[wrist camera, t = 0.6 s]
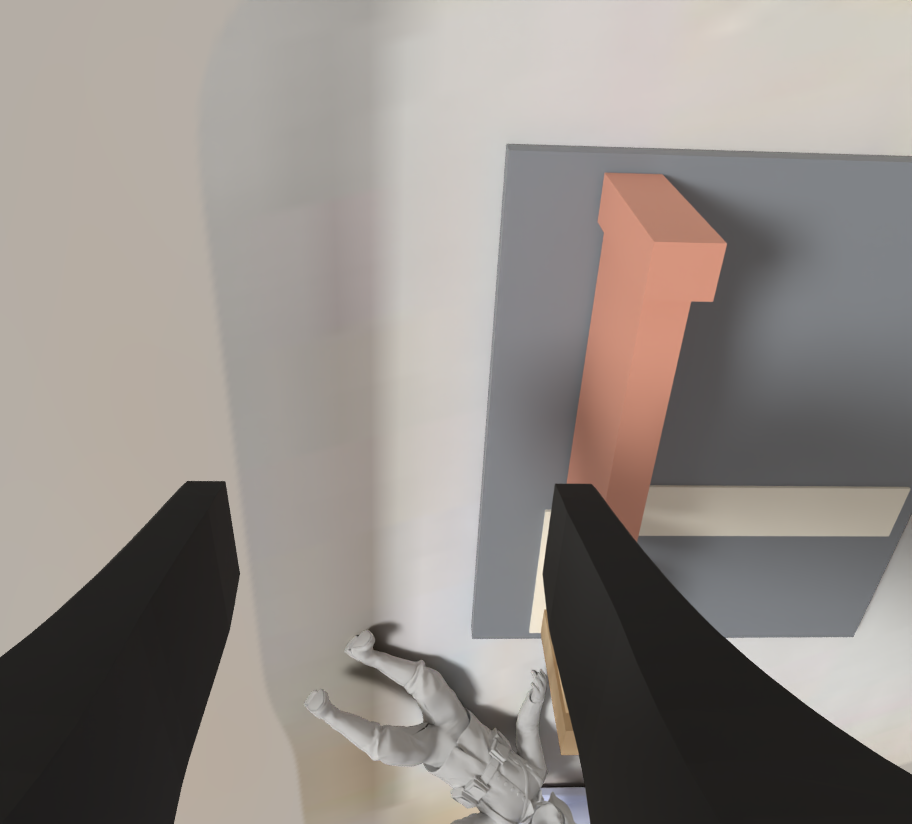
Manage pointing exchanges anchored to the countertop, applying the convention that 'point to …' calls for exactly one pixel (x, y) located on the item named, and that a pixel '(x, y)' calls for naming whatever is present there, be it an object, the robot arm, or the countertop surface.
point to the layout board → (716, 386)
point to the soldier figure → (455, 743)
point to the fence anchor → (557, 695)
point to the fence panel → (638, 333)
